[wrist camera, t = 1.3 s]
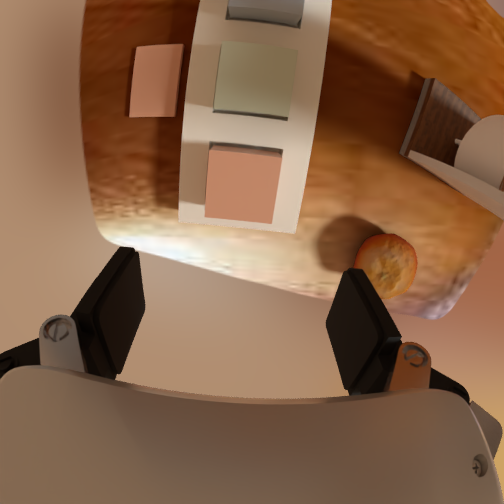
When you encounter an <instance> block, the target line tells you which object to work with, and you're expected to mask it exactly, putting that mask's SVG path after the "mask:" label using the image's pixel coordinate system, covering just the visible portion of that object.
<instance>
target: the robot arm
mask: <svg viewBox="0 0 504 504" xmlns="http://www.w3.org/2000/svg"><path fill="white" fill-rule="evenodd" d="M144 312H145V299H144V292H143V284H142V276H141V268H140V258H139V253H138V252H135V249H134V248H131V247H119V249H118V250H117V251H116V252H115V254H114V255H113V256H112V258H111V259H110V261H109V262H108V263H107V265H106V266H105V267H104V269H103V270H102V272H101V273H100V274H99V276H98V277H97V278H96V279H95V280H94V282H93V283H92V285H91V286H90V287H89V289H88V290H87V292H86V293H85V295H84V296H83V298H82V299H81V301H80V302H79V304H78V305H77V307H76V308H75V310H74V312H73V313H72V314H71V316H70V317H69V316H67V315H55V316H52V317H50V318H49V319H47V320H46V321H45V322H44V323H43V324H42V326H41V328H40V331H39V338H37V339H35V340H32V341H30V342H27V343H25V344H22V345H20V346H18V347H15V348H12V349H10V350H8V351H5V352H3V353H1V354H0V504H504V501H503V496H502V491H501V486H500V482H499V478H498V475H497V471H496V468H495V464H494V461H493V460H494V457H495V454H496V452H497V449H498V446H499V444H500V441H501V437H502V427H501V425H500V423H499V422H498V421H497V420H496V419H495V418H493V417H492V416H491V415H490V414H489V413H487V412H486V411H485V410H484V409H482V408H481V407H480V406H479V405H477V404H476V403H475V402H474V401H472V402H471V403H470V402H469V401H470V398H469V394H468V392H467V391H466V389H465V388H464V387H463V386H462V385H460V384H459V383H457V382H456V381H454V380H452V379H450V378H449V377H447V376H445V375H443V374H441V373H440V372H438V371H436V370H435V369H433V368H431V357H430V355H429V353H428V351H427V350H426V349H425V348H424V347H422V346H421V345H419V344H417V343H414V342H405V343H402V341H401V340H400V339H401V337H402V336H401V334H400V332H399V331H398V329H397V327H396V325H395V323H394V321H393V320H392V318H391V316H390V314H389V312H388V311H387V309H386V307H385V305H384V304H383V302H382V300H381V298H380V297H379V295H378V293H377V292H376V290H375V288H374V287H373V285H372V283H371V282H370V280H369V278H368V277H367V275H366V273H365V272H364V270H363V269H357V268H349V269H348V270H347V271H344V272H343V275H342V278H341V281H340V284H339V286H338V289H337V292H336V295H335V298H334V301H333V304H332V306H331V309H330V311H329V314H328V317H327V320H326V328H327V331H328V335H329V338H330V341H331V345H332V348H333V352H334V355H335V358H336V362H337V365H338V368H339V372H340V375H341V379H342V383H343V386H344V389H345V390H348V393H349V396H341V397H328V398H305V399H304V398H302V399H264V398H239V397H224V396H212V395H202V394H194V393H185V392H178V391H171V390H164V389H158V388H152V387H147V386H141V385H136V384H131V383H127V382H122V381H117V380H115V378H116V375H117V374H121V372H122V370H123V367H124V364H125V361H126V358H127V356H128V353H129V350H130V348H131V345H132V342H133V340H134V337H135V335H136V332H137V329H138V327H139V324H140V322H141V319H142V317H143V314H144Z"/></svg>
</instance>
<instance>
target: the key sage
mask: <svg viewBox="0 0 504 504" xmlns="http://www.w3.org/2000/svg"><path fill="white" fill-rule="evenodd" d="M297 55H298V50H295V49H290V48H284V47H278V46H271V45H263V44H255V43H245V42H233V41H222V46H221V53H220V60H219V67H218V75H217V82H216V90H215V99H214V108H213V109H224V110H236V111H246V112H255V113H263V114H271V115H278V116H284V117H289V111H290V104H291V97H292V90H293V83H294V76H295V69H296V62H297Z"/></svg>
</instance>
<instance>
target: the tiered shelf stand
mask: <svg viewBox="0 0 504 504" xmlns="http://www.w3.org/2000/svg"><path fill="white" fill-rule="evenodd" d="M399 154H401V155H403V156H404V157H406V158H408V159H409V160H411V161H413V162H414V163H416V164H418V165H419V166H421V167H422V168H424V169H425V170H427V171H429V172H430V173H432V174H433V175H435V176H436V177H438V178H439V179H441V180H442V181H444V182H445V183H446V184H448V185H449V186H451V187H452V188H454V189H455V190H456V191H458V192H460V193H462V194H463V195H465V196H467V197H468V198H470V199H472V200H473V201H475V202H477V203H478V204H480V205H481V206H483V207H485V208H486V209H488V210H489V211H491V212H492V213H494V214H495V215H497V216H498V217H500V218H501V219H503V220H504V115H492V116H488V117H486V118H484V119H482V120H481V119H480V118H479V117H478V116H477V115H476V114H475V113H474V112H473V111H472V110H471V109H470V108H469V107H468V106H467V105H466V104H465V103H464V102H463V101H462V100H461V99H459V98H458V97H457V96H456V95H455V94H454V93H453V92H451V91H450V90H449V89H448V88H447V87H445V86H444V85H443V84H442V83H440V82H439V81H438V80H437V79H435V78H431V79H425V82H424V85H423V88H422V91H421V94H420V97H419V100H418V103H417V106H416V109H415V112H414V115H413V118H412V121H411V123H410V126H409V129H408V131H407V134H406V137H405V139H404V142H403V144H402V147H401V149H400V152H399Z"/></svg>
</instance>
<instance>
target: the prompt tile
mask: <svg viewBox="0 0 504 504" xmlns="http://www.w3.org/2000/svg"><path fill="white" fill-rule="evenodd" d="M184 46H185V45H184V44H166V45H151V46H141V47H137V49H136V55H135V62H134V70H133V79H132V88H131V100H130V114H129V117H176V113H177V102H178V92H179V83H180V75H181V67H182V60H183V53H184Z"/></svg>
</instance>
